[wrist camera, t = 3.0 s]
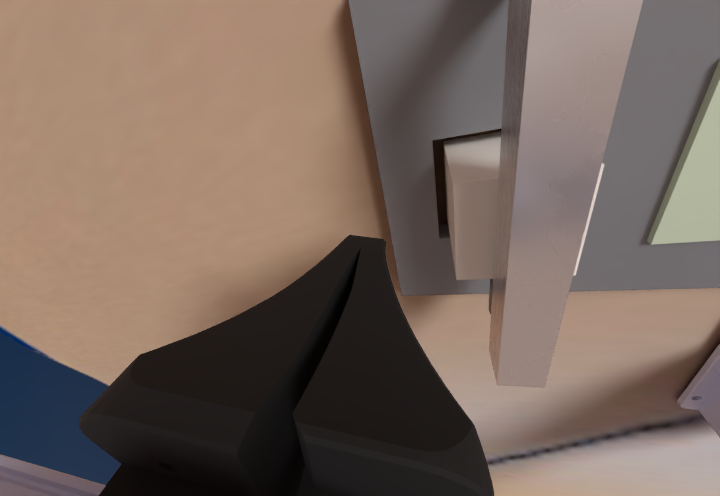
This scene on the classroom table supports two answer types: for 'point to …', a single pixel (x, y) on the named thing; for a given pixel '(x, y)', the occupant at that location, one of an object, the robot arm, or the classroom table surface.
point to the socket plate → (484, 113)
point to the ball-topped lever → (550, 166)
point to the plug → (477, 204)
